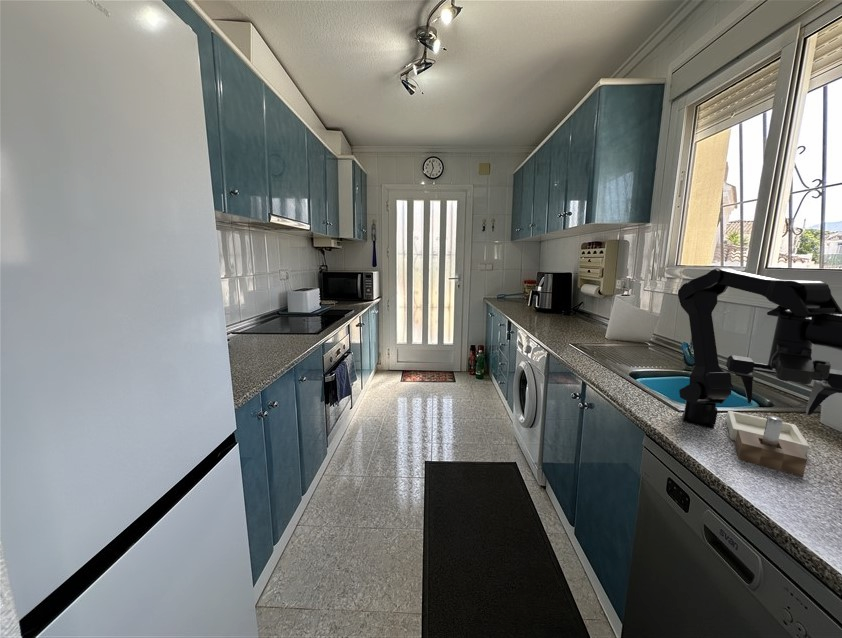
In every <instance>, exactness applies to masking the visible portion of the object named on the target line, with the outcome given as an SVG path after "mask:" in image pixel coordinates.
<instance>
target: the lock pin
mask: <svg viewBox="0 0 842 638" xmlns="http://www.w3.org/2000/svg"><path fill="white" fill-rule="evenodd" d="M766 419H767V422H766V426H765V431H764V436H763V440H762V444H764V445H768V446H772V447H776V448H777V445H778V440H779V436H780V431H781V427H782V422H784V421H783V419H782V418H780V417H777V416H773V415H767V418H766Z"/></svg>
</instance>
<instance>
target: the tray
mask: <svg viewBox="0 0 842 638" xmlns="http://www.w3.org/2000/svg"><path fill="white" fill-rule="evenodd" d="M725 421H726V425H727V429H728V433H729V437H730V440H732V441H736V436H737V431H738V429H739V430H743V431H747V432H752V433H756V434H760V435H764V431H765V426H766V422H767V418H765V417H760V416H756V415H751V414H747V413H742V412H737V411H731V410H727V415H726V420H725ZM779 439H782V440H786V441H790V442H794V443H798V445H799V447H800V448H801V450H802V452H803V453H804V455H805V457H806V458H807V459H808V455H809V454H808V453H809V450H810V445H809V443H808V442H807V440H806V439H805V437H804V436H803V434H802V433H801V431H800V430H799V428H798V427H797V425H796V424H793V423H788V422H786V421H783V422H782V427H781V431H780V436H779Z"/></svg>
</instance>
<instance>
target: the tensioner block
mask: <svg viewBox="0 0 842 638" xmlns="http://www.w3.org/2000/svg"><path fill="white" fill-rule="evenodd" d="M763 436H764V435H760V434H756V433H752V432H747V431H743V430H739V429H738V431H737V436H736V441H735V440H734V441H735V442H734V446H735V449H736V454H737V457H738V460H740V461H743V462H747V463H751V464H755V465H758V466H762V467H766V468H770V469H773V470H776V471H780V472H785V473H788V474H791V475H796V476H799V477H802V478H803V477H804V475H805V471H806V466H807V462H808V457H807V458H806V457H805V455H804V453H803V452H802V450H801V448H800V447H799V445H798V443H794V442H790V441H786V440H782V439H779V440H778V445H777V448H776V447H772V446H768V445H764V444H762V440H763Z"/></svg>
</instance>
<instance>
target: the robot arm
mask: <svg viewBox="0 0 842 638" xmlns="http://www.w3.org/2000/svg"><path fill="white" fill-rule="evenodd" d="M829 286H830V285H829V284H828V283H826V282H823V281H821V280H797V279H795V280H793V279H778V278H773V277H769V276H764V275H759V274H754V273H749V272H744V271H739V270H735V269H733V268H715V269H712V270H710V271H708V272H707V273H706V274H703V275H701V276H698V277H696V278H694V279H691V280H690V281H688V282H685V283H683V284H682V285H681V287H680V288H679V289H678V291H677V297H678V299H679V304H680V307H681V308H682V309H683V310H684V311H685V313H686V314H687V315H688V320H689V329H690V336H691V343H692V344H691V345H692V352H693V359H694V368H693V370H692V371H691V373H690V375H689V384H687V385H686V386H684V387H682V388H680V389H679V392H678V393H679V397H680V399H683V400H684V401H685V404H684V410H683V413H682V423H683V422H684V423H687V424H692V425H695V426H701V427H704V428H708V429H714V425H716V423H717V416H718V411H719V410H718V408H717V404H719V405H720V404H721V405H722V404H724V402H725V401H726V399H727V398H729V396H731V395H732V389H734V386H733V383H732V375H731V372H732V373H734V375H735V376H736V377H739V378H741V381H742V384H743V388H744V392H745V395H746V401H747V403H748V404H751V402H752V399H753V385H754V378H755V377H754V375H753V372H754V371H755V372H760V373H767V374H774V375H776V378H777V379H778V380H780V381H783V382H794V383H799V384H802V385H810V384H812V381H813V385H812V389H811V392H810V394H809V397H808V401H807V404H806V410H805V414H806V415H807V416H811V415H812V413H814V412H815V410H817V408H818V407H820V405H821V404H822V403H823V402H824V401H825V400H826V399H827V398H829V397H830V396H832V395H834V394H842V370H841V369H835V368H831V367H832V365H831V363H830V361H827V360H826V361H825V360H818V359H815V360H813V359H812V358H813V357H812V354H813V353H812V351H813V350H812V346H813V345H815V346H819V347H823V348H827V349H832V350H838V351H842V309H841V307H840V306H839V304H838V303H837V301H836V300H835V298H834V297H833V295H832V292H831V288H830V287H829ZM728 288H733V289H737V290H740V291H744V292H748V293H752V294H757V295H761V296H762V297H765V298H766V300H767V301H769V302H770V303H773V304H775V305H777V307H775V308H773V309H771V310H770V311H767V312H766V315H767V316H771V317H772V316H773V317H777V319H776V324H775V329H774V334H773V337H772V342H771V343H772V344H771V349H770V352H769V358H768V362H767V363H761V362H755V361H754V360H753V358H751V357H748V356H741V355H740V356H739V355H734V354H731V355H730V356H728V357H727V360H726V364H725V365H726V368H727V370H728V371H729V372H726V371H724V370H723V369H722V368H721V367H720V364H719V358H718V349H717V343H716V336H715V329H714V322H713V321H714V320H713V312H714V310H715V308H716V306H717V305H718V297H719V296H720V295H722V294H724V293H726V292H727V289H728Z"/></svg>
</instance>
